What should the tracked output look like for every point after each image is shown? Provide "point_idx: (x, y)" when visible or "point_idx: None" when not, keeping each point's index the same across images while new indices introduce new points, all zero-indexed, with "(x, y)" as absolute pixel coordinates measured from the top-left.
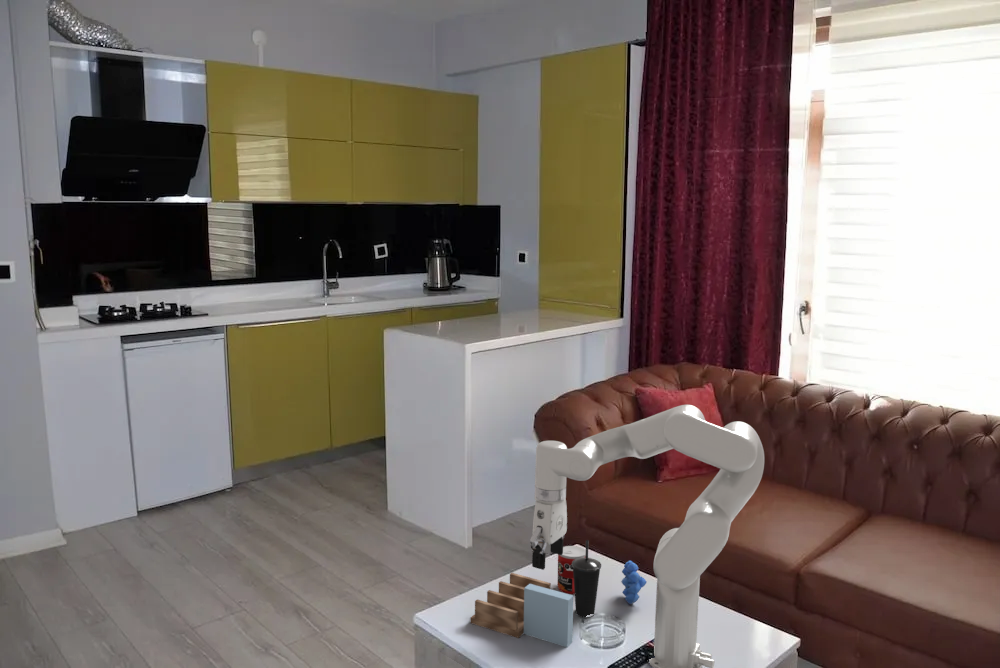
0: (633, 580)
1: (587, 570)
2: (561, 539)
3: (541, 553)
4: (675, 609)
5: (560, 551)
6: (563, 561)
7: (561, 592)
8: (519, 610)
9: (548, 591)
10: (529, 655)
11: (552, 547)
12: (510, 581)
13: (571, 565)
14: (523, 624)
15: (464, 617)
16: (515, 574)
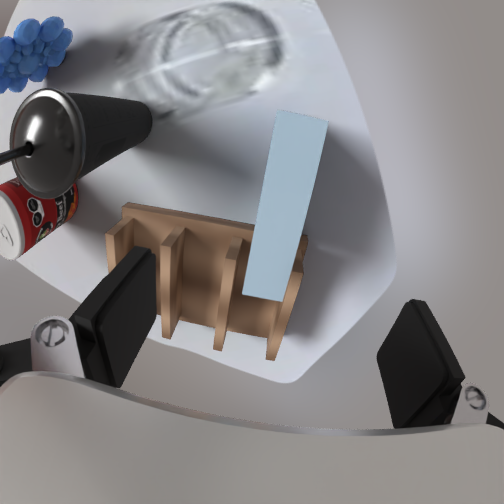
0: (38, 27)
1: (78, 117)
2: (89, 329)
3: (483, 393)
4: None
5: (146, 269)
6: (32, 233)
7: (267, 165)
8: (236, 267)
9: (278, 217)
10: (369, 194)
11: (142, 330)
12: None
13: (31, 209)
14: None
15: (261, 344)
16: None
